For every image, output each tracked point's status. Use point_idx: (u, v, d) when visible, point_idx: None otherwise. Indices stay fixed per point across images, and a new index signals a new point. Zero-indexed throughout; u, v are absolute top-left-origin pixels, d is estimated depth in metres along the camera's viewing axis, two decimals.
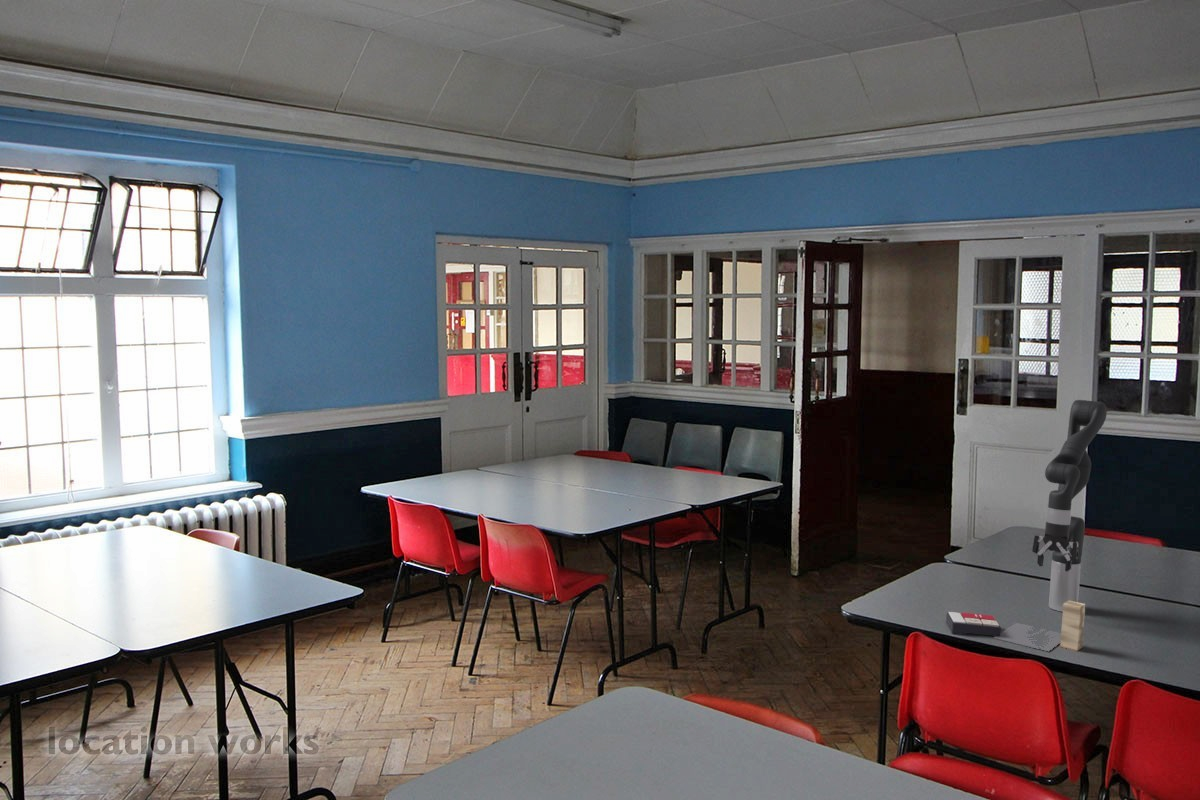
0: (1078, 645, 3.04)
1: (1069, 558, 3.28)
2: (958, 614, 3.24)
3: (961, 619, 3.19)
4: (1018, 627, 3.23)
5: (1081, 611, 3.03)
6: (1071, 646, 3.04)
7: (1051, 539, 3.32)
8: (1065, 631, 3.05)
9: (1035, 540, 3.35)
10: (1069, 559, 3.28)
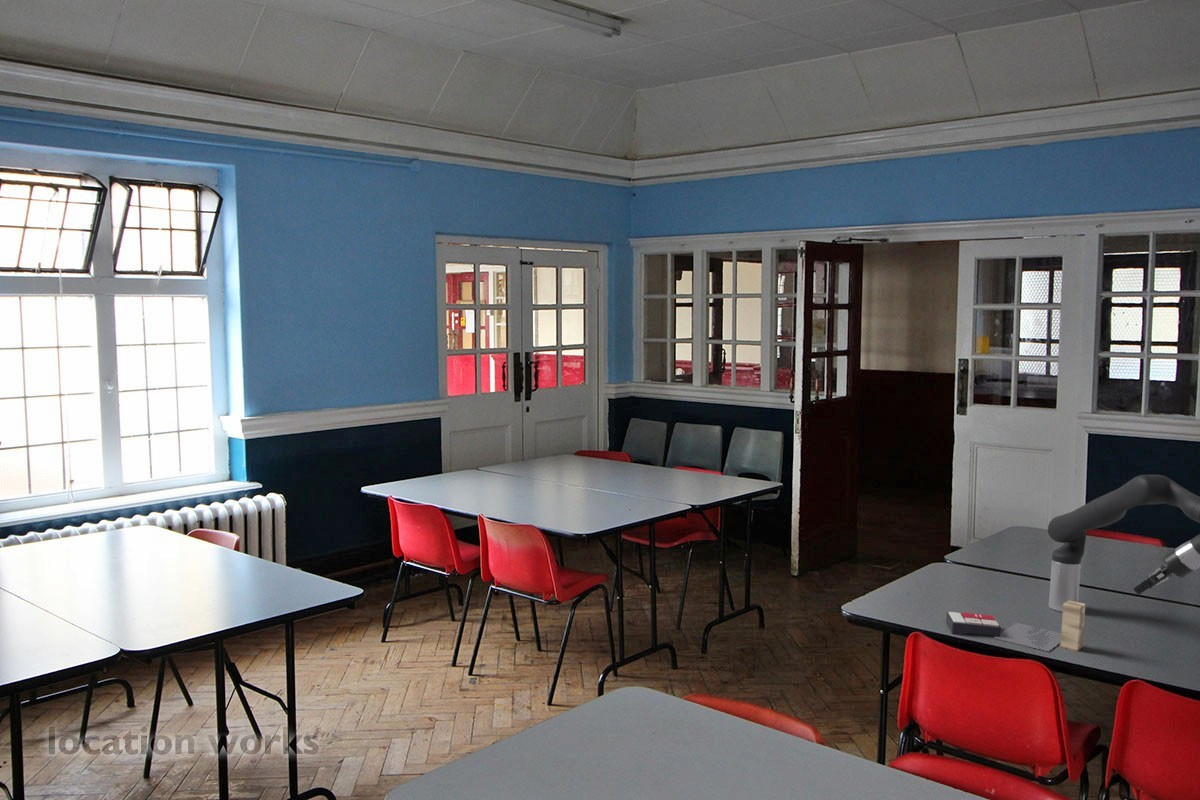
0: (1078, 645, 3.04)
1: None
2: (958, 614, 3.24)
3: (961, 619, 3.19)
4: (1018, 627, 3.23)
5: (1081, 611, 3.03)
6: (1071, 646, 3.04)
7: (1169, 574, 2.85)
8: (1065, 631, 3.05)
9: (1161, 580, 2.82)
10: None
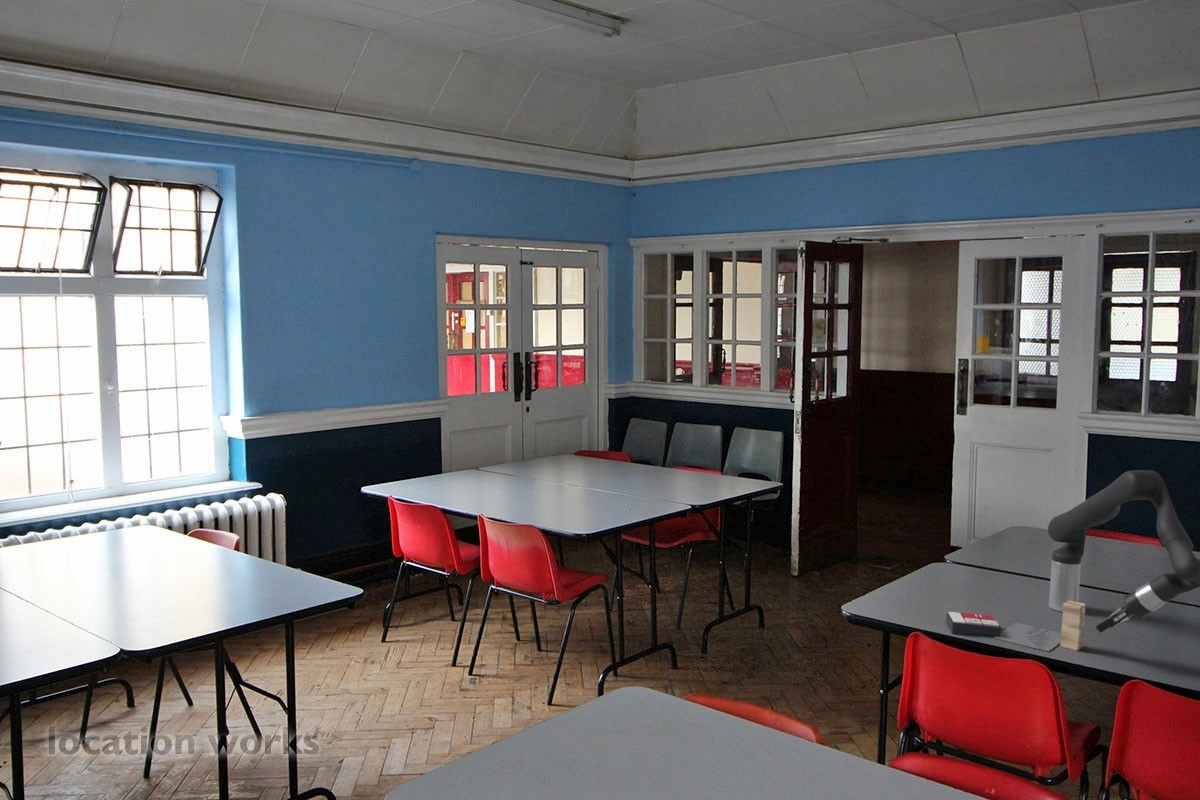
0: (1078, 645, 3.04)
1: None
2: (958, 614, 3.24)
3: (961, 619, 3.19)
4: (1018, 627, 3.23)
5: (1081, 611, 3.03)
6: (1071, 646, 3.04)
7: None
8: (1065, 631, 3.05)
9: (1117, 623, 2.92)
10: None
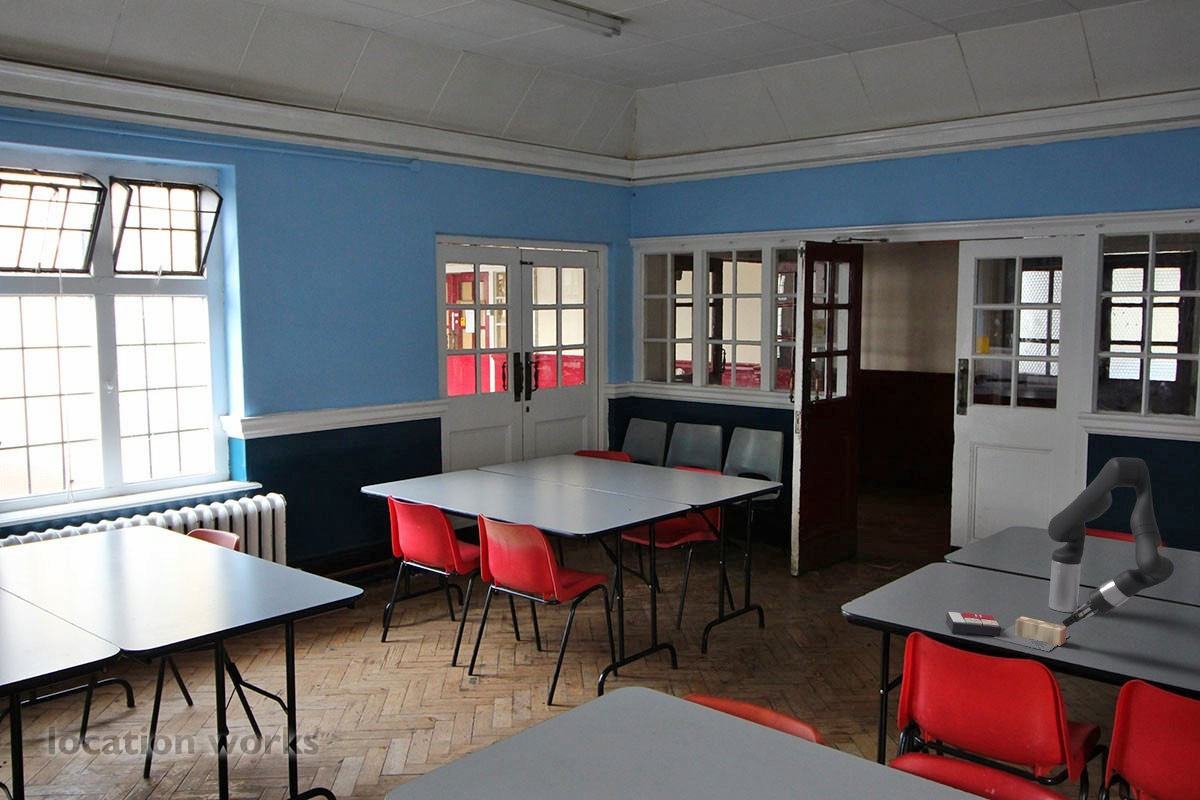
0: (1057, 628, 3.08)
1: None
2: (958, 614, 3.24)
3: (961, 619, 3.19)
4: None
5: (1022, 620, 3.15)
6: (1057, 635, 3.07)
7: (1094, 610, 3.00)
8: (1043, 637, 3.10)
9: (1082, 618, 2.99)
10: None
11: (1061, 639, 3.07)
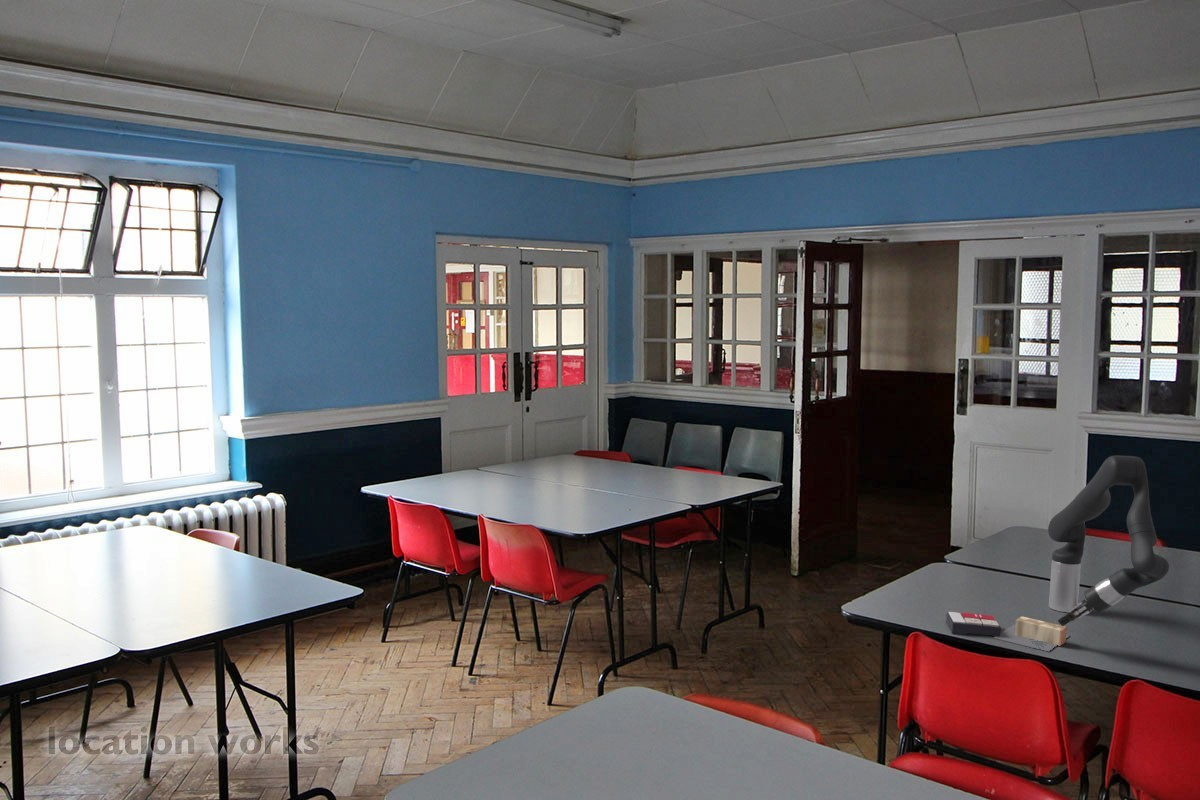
0: (1057, 628, 3.08)
1: None
2: (958, 614, 3.24)
3: (961, 619, 3.19)
4: None
5: (1022, 620, 3.15)
6: (1057, 635, 3.07)
7: (1090, 608, 3.01)
8: (1043, 637, 3.10)
9: (1078, 617, 3.00)
10: None
11: (1061, 639, 3.07)
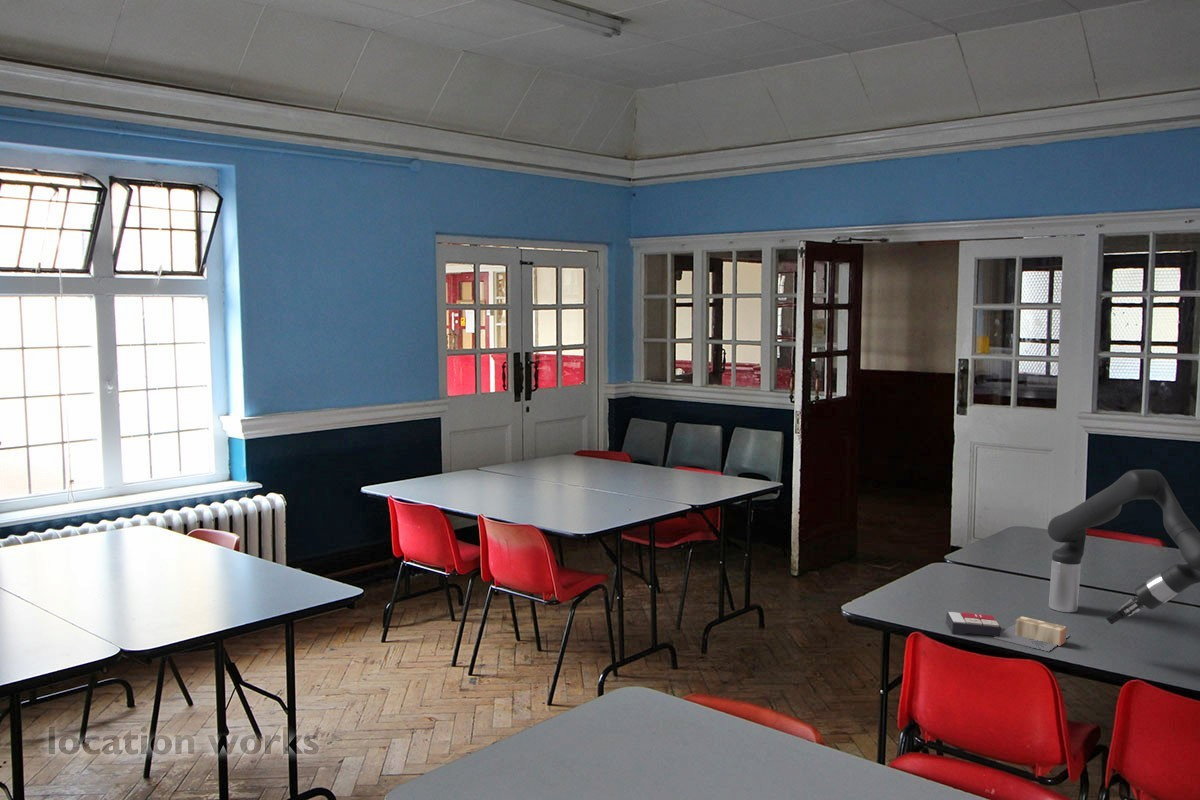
0: (1057, 628, 3.08)
1: None
2: (958, 614, 3.24)
3: (961, 619, 3.19)
4: None
5: (1022, 620, 3.15)
6: (1057, 635, 3.07)
7: (1141, 606, 2.91)
8: (1043, 637, 3.10)
9: (1128, 614, 2.90)
10: None
11: (1061, 639, 3.07)
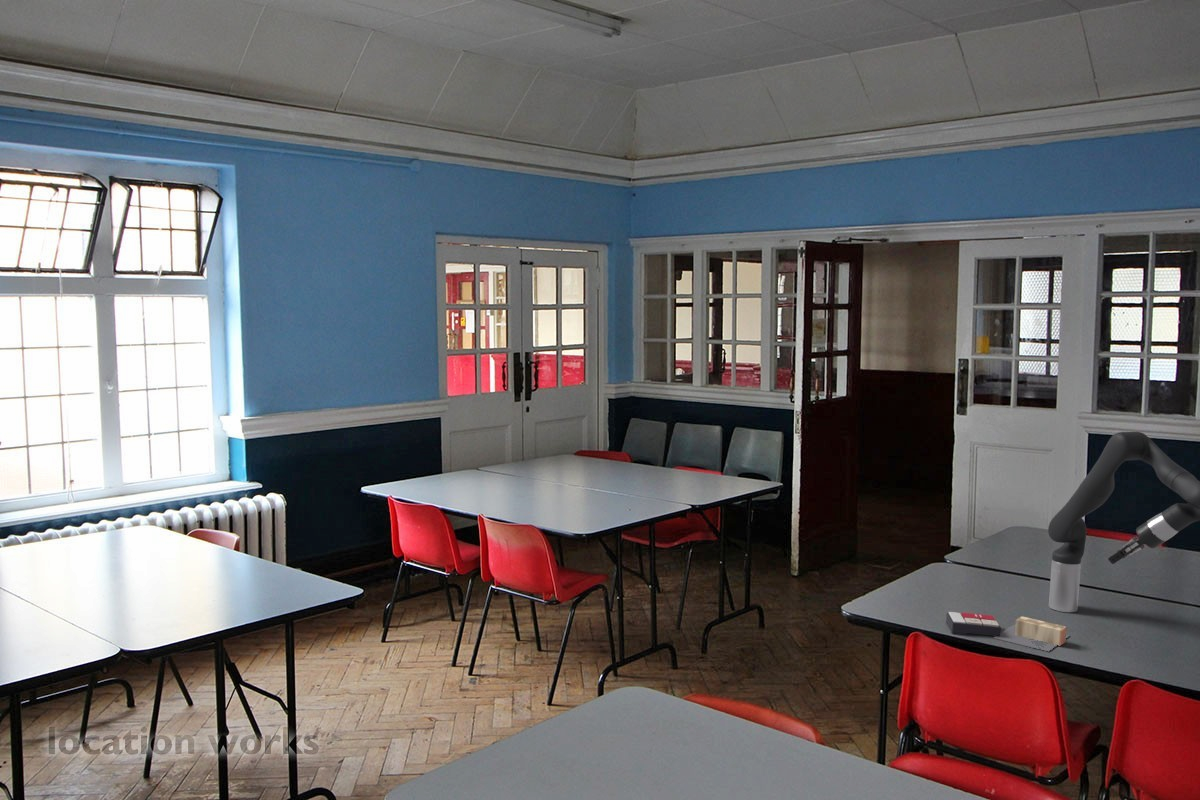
0: (1057, 628, 3.08)
1: None
2: (958, 614, 3.24)
3: (961, 619, 3.19)
4: None
5: (1022, 620, 3.15)
6: (1057, 635, 3.07)
7: (1141, 545, 2.97)
8: (1043, 637, 3.10)
9: (1129, 553, 2.96)
10: None
11: (1061, 639, 3.07)
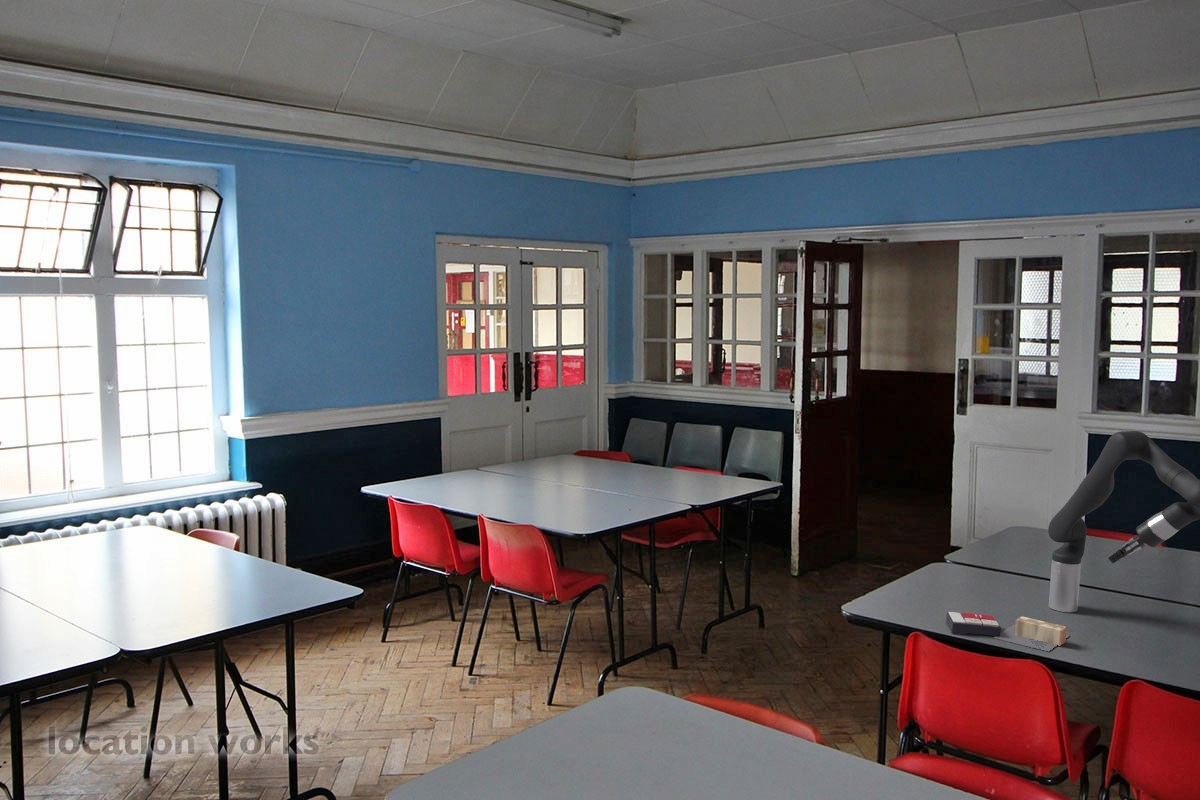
0: (1057, 628, 3.08)
1: None
2: (958, 614, 3.24)
3: (961, 619, 3.19)
4: None
5: (1022, 620, 3.15)
6: (1057, 635, 3.07)
7: None
8: (1043, 637, 3.10)
9: (1130, 552, 2.96)
10: None
11: (1061, 639, 3.07)
